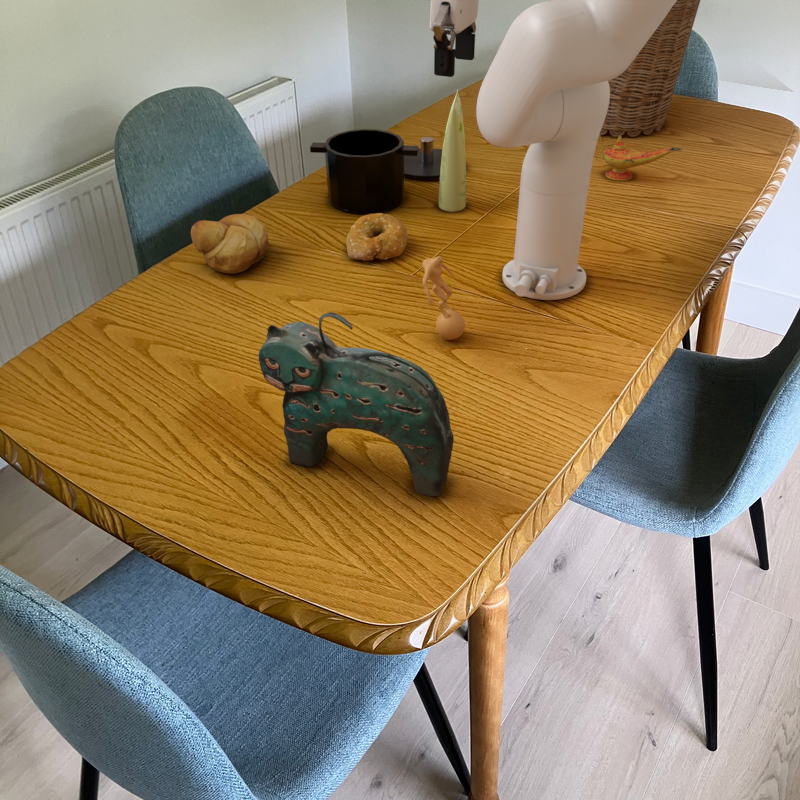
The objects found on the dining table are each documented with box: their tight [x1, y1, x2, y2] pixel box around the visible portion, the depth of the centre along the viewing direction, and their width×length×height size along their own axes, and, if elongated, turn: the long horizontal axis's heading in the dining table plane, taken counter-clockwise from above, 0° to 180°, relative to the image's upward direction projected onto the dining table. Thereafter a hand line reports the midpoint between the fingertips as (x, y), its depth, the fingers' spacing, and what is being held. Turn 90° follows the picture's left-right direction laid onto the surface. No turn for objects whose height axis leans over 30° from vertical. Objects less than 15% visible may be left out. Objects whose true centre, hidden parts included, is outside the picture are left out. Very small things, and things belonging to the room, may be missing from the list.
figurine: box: [421, 255, 466, 341], centre depth 102 cm, size 8×6×12 cm
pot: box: [309, 128, 420, 216], centre depth 139 cm, size 14×19×10 cm
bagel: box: [345, 213, 409, 262], centre depth 125 cm, size 10×11×5 cm
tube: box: [437, 88, 467, 213], centre depth 133 cm, size 6×5×20 cm
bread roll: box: [190, 213, 270, 274], centre depth 122 cm, size 13×10×8 cm
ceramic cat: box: [258, 311, 455, 497], centre depth 79 cm, size 20×6×20 cm, turn 69°
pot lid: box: [404, 136, 443, 180], centre depth 152 cm, size 15×15×6 cm
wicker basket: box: [600, 0, 701, 138], centre depth 163 cm, size 35×35×33 cm
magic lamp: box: [595, 135, 683, 181], centre depth 145 cm, size 7×18×11 cm, turn 64°
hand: (454, 67), depth 124 cm, fingers open, 9 cm apart
